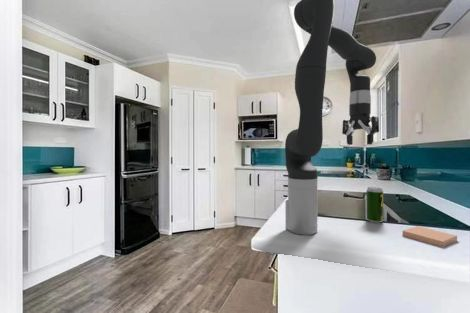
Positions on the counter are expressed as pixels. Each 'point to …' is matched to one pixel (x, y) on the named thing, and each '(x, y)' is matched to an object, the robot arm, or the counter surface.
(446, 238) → the tile
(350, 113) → the robot arm
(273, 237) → the counter surface
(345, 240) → the counter surface
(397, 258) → the counter surface
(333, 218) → the counter surface
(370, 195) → the beer can
